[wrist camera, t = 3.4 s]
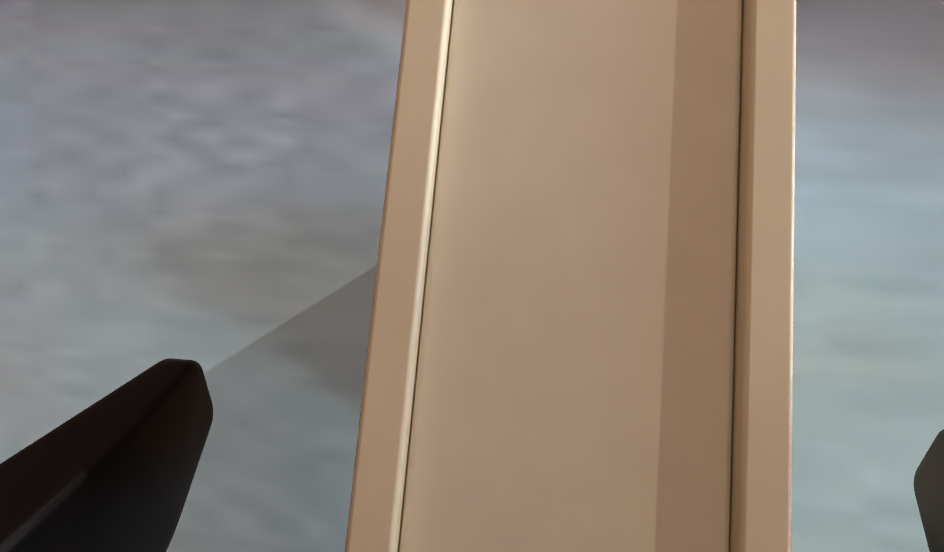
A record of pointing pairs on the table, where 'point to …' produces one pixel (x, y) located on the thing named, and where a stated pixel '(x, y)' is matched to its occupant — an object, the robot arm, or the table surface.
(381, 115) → the table surface
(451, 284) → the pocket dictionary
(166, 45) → the table surface
